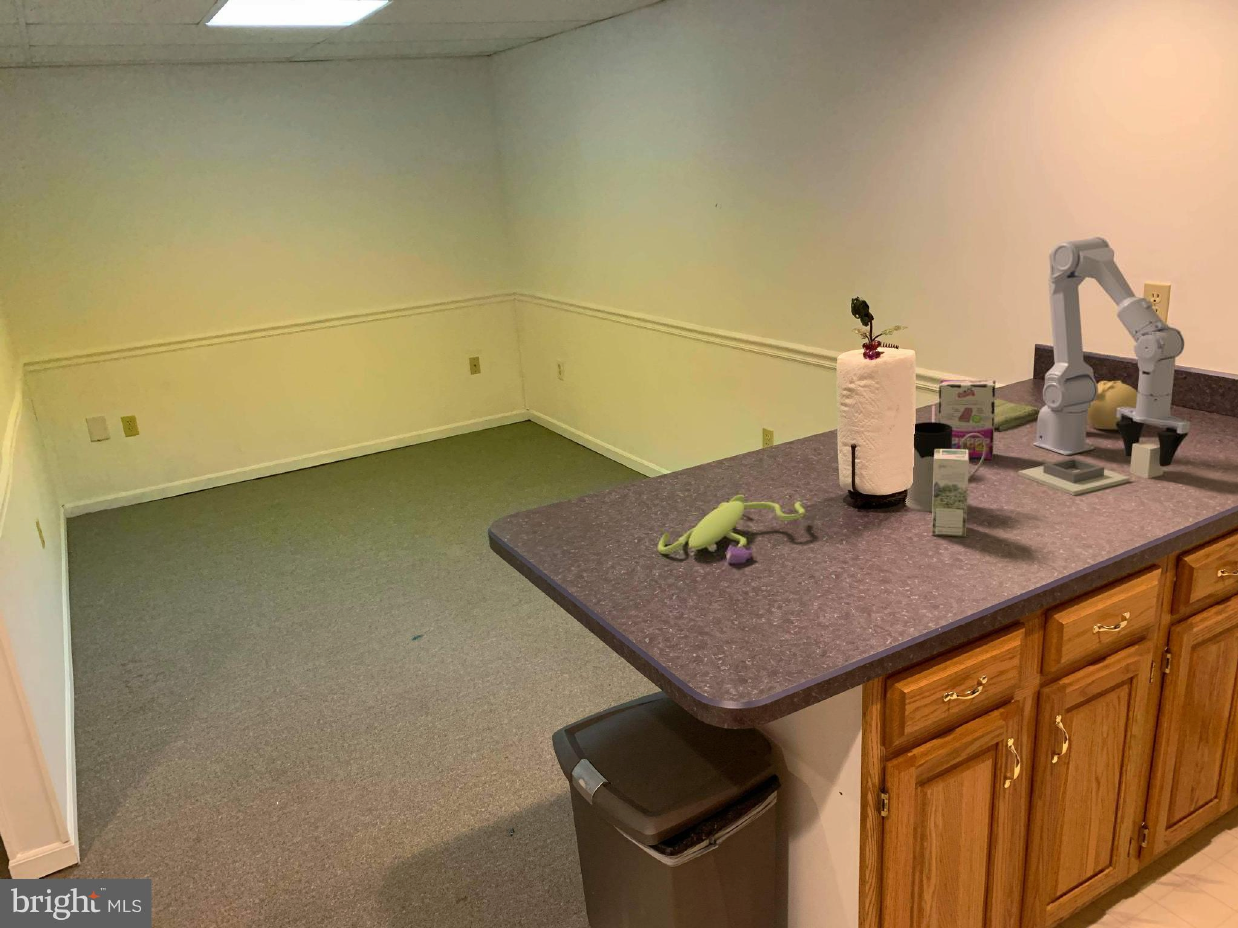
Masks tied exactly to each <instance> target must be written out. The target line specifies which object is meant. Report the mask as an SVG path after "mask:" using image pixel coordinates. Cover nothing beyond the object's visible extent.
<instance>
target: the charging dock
mask: <svg viewBox="0 0 1238 928" xmlns="http://www.w3.org/2000/svg"><path fill="white" fill-rule="evenodd" d="M1017 474H1018V476H1020V477H1023V478H1026V479H1028V480H1031V481H1034V482H1036V483H1040V484H1041V485H1044V486H1047V487H1050V488H1052V489H1055V490H1058V491H1060V492H1062V493H1063V492H1064V493H1065V494H1069V495H1072V496H1077V495H1081V494H1084V493H1085V494H1086V493H1089V492H1092V491H1093V492H1094V491H1098V490H1101V489H1105V488H1108V487H1113V486H1117V485H1120V484H1121V485H1122V484H1125V483H1128V482H1131V477H1130V476H1127V475H1123V474H1120V473H1117V472H1115V471H1111V470H1108V469H1105V466H1102V465H1098V464H1095V463H1094V462H1093V463H1092V462H1089V461H1087V460H1082V459H1080V458H1077V457H1074V456H1072V457H1069V458H1064V459H1060V460H1056V461H1051V462H1048V463H1044V464H1043V465H1040V466H1036V467H1035V466H1034V467H1031V468H1026V469H1023V470H1018V473H1017Z"/></svg>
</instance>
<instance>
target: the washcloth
mask: <svg viewBox="0 0 1238 928" xmlns="http://www.w3.org/2000/svg"><path fill="white" fill-rule="evenodd" d="M1040 411H1041V410H1040V409H1039V408H1037V407H1033V406H1029V405H1023V404H1021V403H1019V404H1017V403H1012V402H1011V401H1007V400H1002V399H996V398H995V416H994V417H995V418H994V431H999V432H1002V431H1005V430H1008V429H1011V428H1013V427H1016V426H1019V425H1021V424H1024V423H1026V422H1029V421H1031V420H1034V419H1038V415H1039V413H1040Z"/></svg>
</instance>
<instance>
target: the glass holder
mask: <svg viewBox="0 0 1238 928" xmlns="http://www.w3.org/2000/svg"><path fill="white" fill-rule="evenodd" d="M914 424H915V434H914V467H913V483H912V485H911V487H910V489H909V490H908V489H907V496H906V499H905V501H906V502H905V501H904V504H905V503H906V504H905V506H907V507H908V508H910V509H912V510H914V511H915V510H916V511H918V512H919V511H920V512H930V513H932V505H933V472H934V452H935V449H952V426H950V425H948V424H944V423H939V422H936V421H934V422H932V421H929V422H928V421H925V422H918V423H917V422H916V423H914ZM973 435H976V436H979V437H981V438H982V439H983V441H984V452H983V456H982V459H980V461H979V463H978V464H977V466H976V467H975V469H974V470H973V471H971V473H969V476H968V480H969V479H970V478H971V477H972V476H974V475H975V474H976V473H977V472H978V471H979V469H980V468H981V466H982V464H983V463H984V460H985V459H984V458H985V455H986V447H987V446H986V440H985V439H984V437H983V436H982V435H980V434H977V433H971V434H968V435H967V436H965V437H964V438H963V440H962V442H961V449H962V450H963V445H964V442H965V440H966V439H967V438H968V437H970V436H973Z"/></svg>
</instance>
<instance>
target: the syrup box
mask: <svg viewBox="0 0 1238 928" xmlns="http://www.w3.org/2000/svg"><path fill="white" fill-rule="evenodd" d="M969 470H970V459H969V451H968V450H962V449H935V452H934V472H933V505H932V512H931V513H932V515H931V535H932V536H946V537H960V538H961V537H962V538H963V537H966V536H967V516H968V515H967V514H968V495H969V494H968V491H969V479H968V476H969V474H970V473H969V472H970V471H969Z"/></svg>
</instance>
